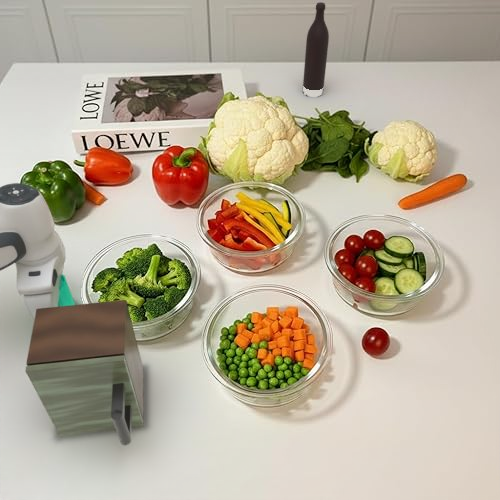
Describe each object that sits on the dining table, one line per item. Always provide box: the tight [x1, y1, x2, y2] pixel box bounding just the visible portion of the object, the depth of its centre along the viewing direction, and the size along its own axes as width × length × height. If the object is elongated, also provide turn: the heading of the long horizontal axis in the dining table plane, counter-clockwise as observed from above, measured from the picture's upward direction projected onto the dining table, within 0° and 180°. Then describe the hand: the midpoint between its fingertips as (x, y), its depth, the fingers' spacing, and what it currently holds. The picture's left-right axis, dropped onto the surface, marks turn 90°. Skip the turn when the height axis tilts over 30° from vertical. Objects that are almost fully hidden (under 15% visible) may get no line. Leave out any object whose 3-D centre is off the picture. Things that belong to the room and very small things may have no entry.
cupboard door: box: [24, 355, 144, 446], centre depth 90 cm, size 7×15×22 cm, turn 98°
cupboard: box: [26, 299, 145, 420], centre depth 96 cm, size 11×15×22 cm
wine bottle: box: [302, 2, 330, 90], centre depth 176 cm, size 7×7×30 cm
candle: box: [58, 273, 76, 307], centre depth 114 cm, size 6×6×12 cm
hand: (58, 301), depth 115 cm, fingers closed on candle, 5 cm apart
